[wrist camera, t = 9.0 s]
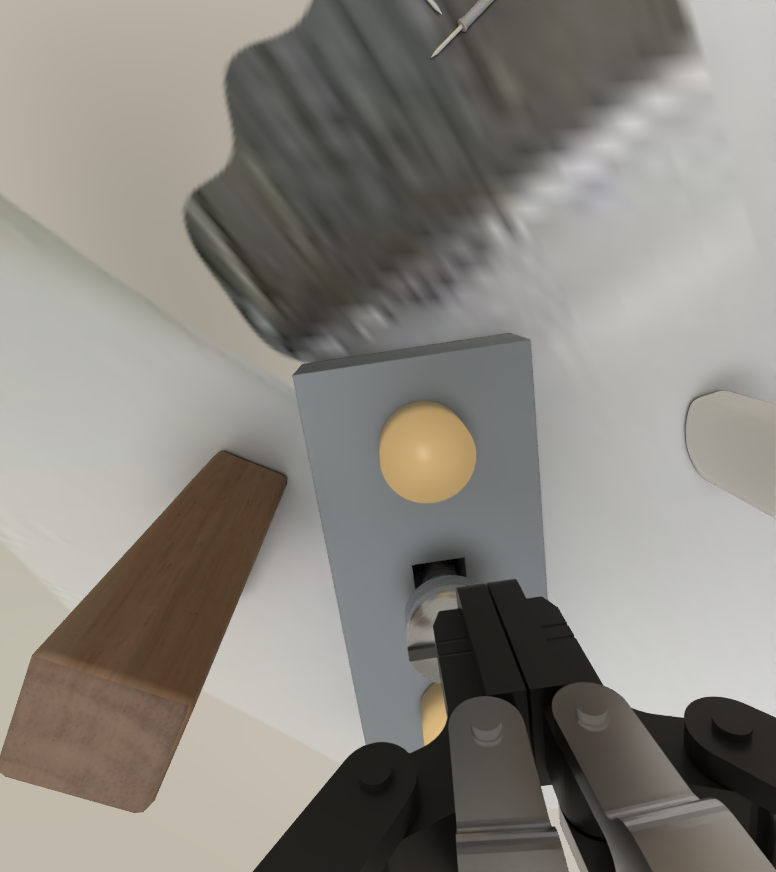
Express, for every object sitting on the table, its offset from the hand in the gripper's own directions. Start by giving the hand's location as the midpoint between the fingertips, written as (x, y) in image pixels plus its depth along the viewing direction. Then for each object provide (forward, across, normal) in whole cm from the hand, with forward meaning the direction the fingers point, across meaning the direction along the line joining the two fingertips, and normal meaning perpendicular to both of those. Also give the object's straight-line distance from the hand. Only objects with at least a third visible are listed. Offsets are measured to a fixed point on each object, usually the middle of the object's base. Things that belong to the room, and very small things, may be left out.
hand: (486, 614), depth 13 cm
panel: (+19, 0, +8) cm, 21 cm away
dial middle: (+16, 0, +8) cm, 18 cm away
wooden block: (+19, +12, +5) cm, 23 cm away
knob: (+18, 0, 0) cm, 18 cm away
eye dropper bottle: (+19, -18, +3) cm, 26 cm away
